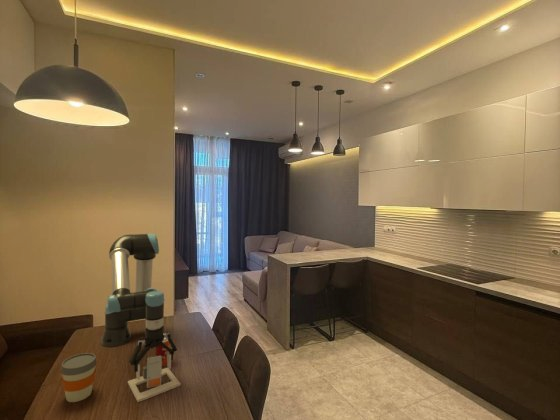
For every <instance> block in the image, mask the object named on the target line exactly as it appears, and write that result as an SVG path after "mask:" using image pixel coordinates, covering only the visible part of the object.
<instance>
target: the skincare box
mask: <svg viewBox="0 0 560 420" xmlns="http://www.w3.org/2000/svg"><path fill="white" fill-rule="evenodd" d="M146 366H147V382H146V389H152V388H155V387H157V386H160V385H162V376H161V371H162V369H163V368H162V367H163V366H162V357H161V356H156V355H155V356H151V357H147V358H146Z"/></svg>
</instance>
